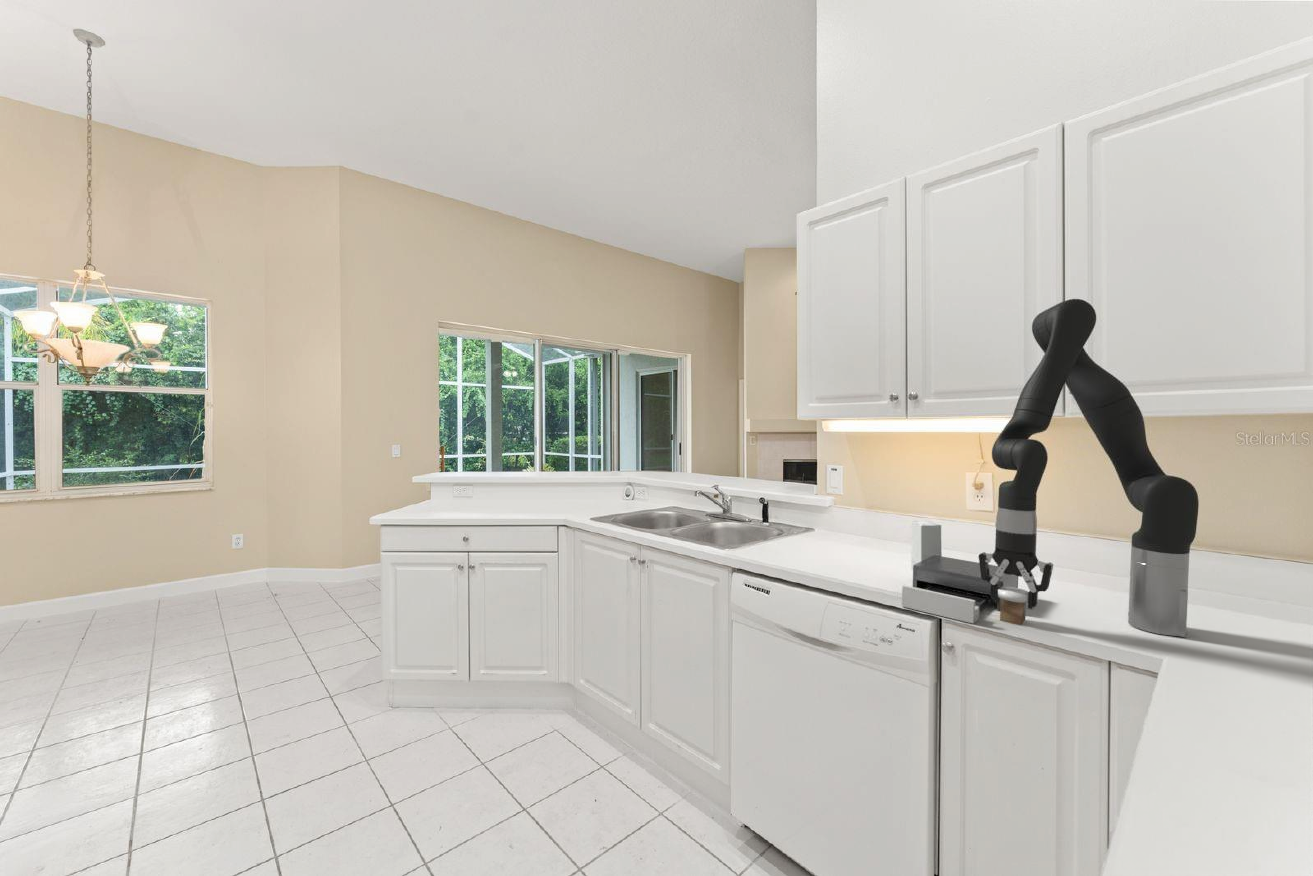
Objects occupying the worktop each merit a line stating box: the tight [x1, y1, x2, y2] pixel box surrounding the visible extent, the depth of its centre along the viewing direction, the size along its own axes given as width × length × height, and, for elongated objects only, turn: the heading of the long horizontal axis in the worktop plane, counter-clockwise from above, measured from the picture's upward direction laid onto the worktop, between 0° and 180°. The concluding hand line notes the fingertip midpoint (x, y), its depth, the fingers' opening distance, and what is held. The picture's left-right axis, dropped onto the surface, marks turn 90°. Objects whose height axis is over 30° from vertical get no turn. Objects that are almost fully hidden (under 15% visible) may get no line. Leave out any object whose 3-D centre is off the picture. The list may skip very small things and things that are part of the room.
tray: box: [901, 584, 990, 624], centre depth 130 cm, size 15×18×5 cm
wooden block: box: [999, 599, 1027, 626], centre depth 121 cm, size 4×4×5 cm
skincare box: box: [910, 520, 943, 571], centre depth 159 cm, size 8×6×15 cm
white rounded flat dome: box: [998, 587, 1029, 603], centre depth 121 cm, size 6×6×2 cm
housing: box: [912, 555, 1019, 612], centre depth 139 cm, size 20×16×7 cm
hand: (1013, 604), depth 121 cm, fingers closed on white rounded flat dome, 6 cm apart
